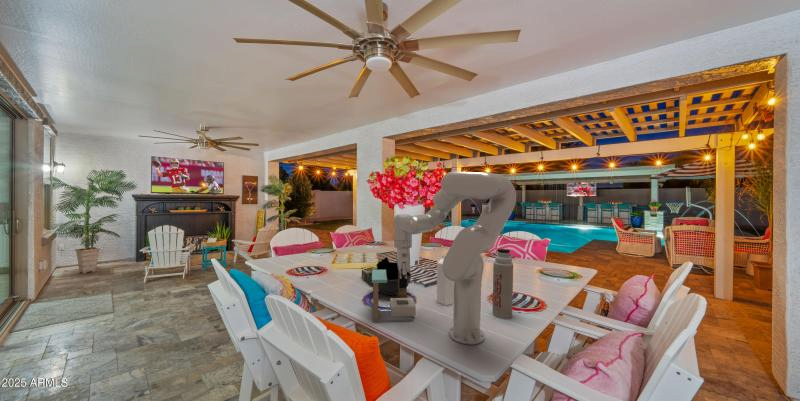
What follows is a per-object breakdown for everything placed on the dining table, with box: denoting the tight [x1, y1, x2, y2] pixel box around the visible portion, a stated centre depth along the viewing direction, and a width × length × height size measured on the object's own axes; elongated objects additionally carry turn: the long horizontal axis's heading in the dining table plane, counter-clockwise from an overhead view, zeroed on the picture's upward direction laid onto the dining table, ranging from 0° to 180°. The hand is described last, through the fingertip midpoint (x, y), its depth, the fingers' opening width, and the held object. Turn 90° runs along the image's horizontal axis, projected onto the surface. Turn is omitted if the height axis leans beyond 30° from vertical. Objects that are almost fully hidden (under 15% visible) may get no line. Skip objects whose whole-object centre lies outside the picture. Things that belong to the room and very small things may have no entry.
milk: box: [436, 254, 455, 307], centre depth 138 cm, size 6×6×22 cm
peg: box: [397, 270, 408, 298], centre depth 125 cm, size 4×4×12 cm
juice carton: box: [360, 267, 377, 288], centre depth 170 cm, size 20×10×6 cm, turn 26°
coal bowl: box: [375, 256, 412, 296], centre depth 149 cm, size 20×20×19 cm
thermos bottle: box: [492, 248, 514, 320], centre depth 125 cm, size 8×8×28 cm
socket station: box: [372, 270, 417, 324], centre depth 125 cm, size 16×18×17 cm
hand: (402, 285), depth 125 cm, fingers closed on peg, 3 cm apart
